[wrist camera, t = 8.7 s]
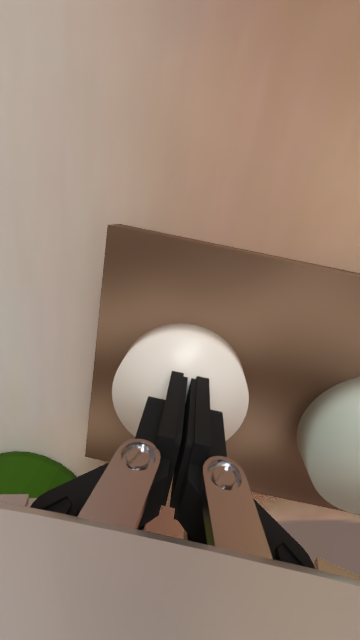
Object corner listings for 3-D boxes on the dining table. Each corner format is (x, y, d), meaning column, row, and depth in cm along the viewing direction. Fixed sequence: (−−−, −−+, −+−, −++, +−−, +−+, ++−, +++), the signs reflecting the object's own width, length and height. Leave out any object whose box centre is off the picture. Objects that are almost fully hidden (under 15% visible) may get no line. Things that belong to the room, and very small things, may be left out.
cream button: (154, 443, 15) (149, 467, 14) (99, 351, 14) (86, 367, 12) (261, 408, 14) (268, 431, 12) (214, 302, 12) (216, 314, 11)
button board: (491, 515, 18) (525, 549, 16) (97, 432, 18) (85, 456, 16) (645, 332, 14) (716, 350, 12) (120, 224, 14) (107, 224, 12)
